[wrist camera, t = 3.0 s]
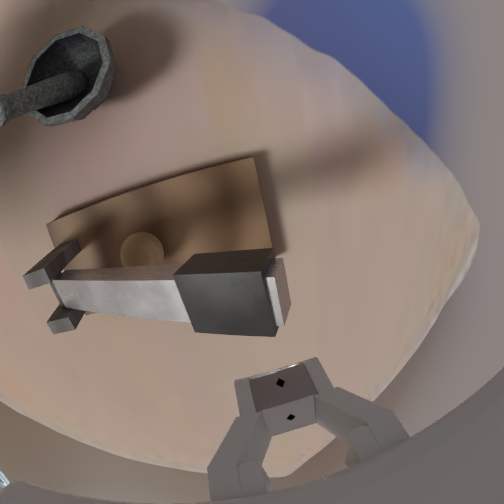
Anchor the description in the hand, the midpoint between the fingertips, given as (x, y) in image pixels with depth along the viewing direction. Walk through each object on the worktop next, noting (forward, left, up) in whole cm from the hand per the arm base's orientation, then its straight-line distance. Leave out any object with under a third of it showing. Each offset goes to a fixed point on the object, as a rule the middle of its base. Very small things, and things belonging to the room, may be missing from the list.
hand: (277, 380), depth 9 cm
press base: (-8, 0, -23) cm, 24 cm away
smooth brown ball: (-9, 0, -21) cm, 23 cm away
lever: (-7, 0, -12) cm, 14 cm away
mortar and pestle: (-12, +19, -23) cm, 32 cm away
